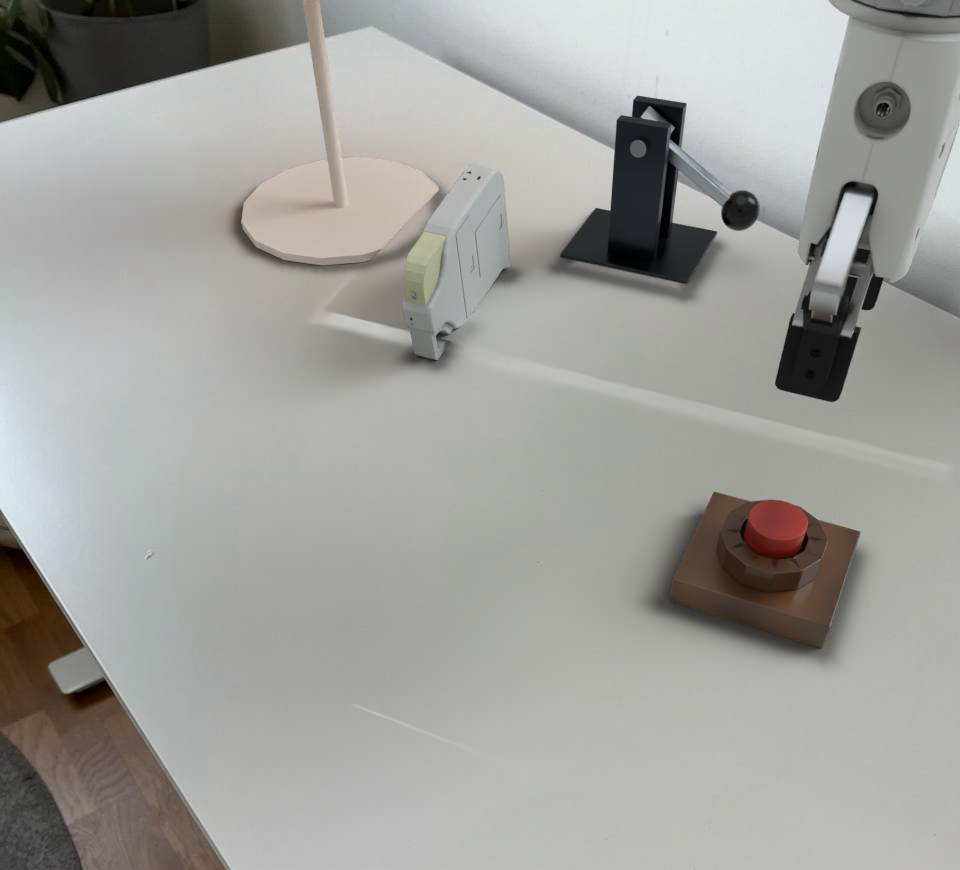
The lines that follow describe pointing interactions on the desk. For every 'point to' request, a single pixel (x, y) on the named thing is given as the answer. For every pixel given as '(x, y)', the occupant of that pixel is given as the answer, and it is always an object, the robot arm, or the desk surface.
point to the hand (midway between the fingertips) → (826, 344)
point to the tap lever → (712, 185)
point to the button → (775, 529)
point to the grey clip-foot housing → (456, 259)
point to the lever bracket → (643, 203)
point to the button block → (764, 574)
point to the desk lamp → (333, 191)
